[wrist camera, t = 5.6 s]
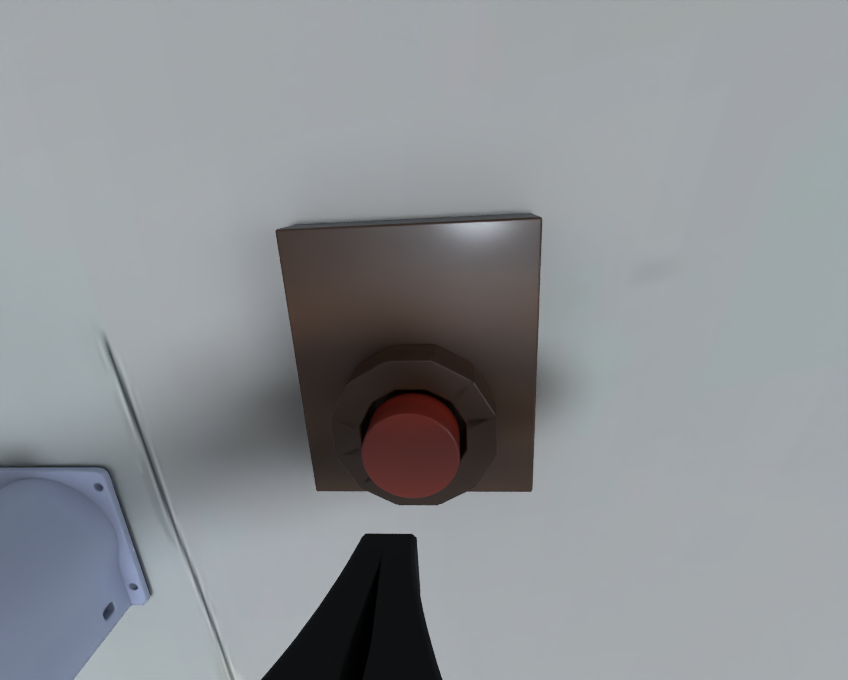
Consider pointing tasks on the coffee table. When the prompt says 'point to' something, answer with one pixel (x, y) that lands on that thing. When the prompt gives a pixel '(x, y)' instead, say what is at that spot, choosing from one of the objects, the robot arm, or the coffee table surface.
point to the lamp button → (412, 446)
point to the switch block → (417, 339)
